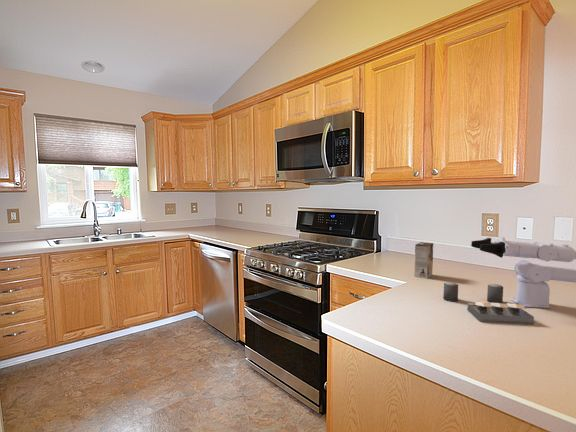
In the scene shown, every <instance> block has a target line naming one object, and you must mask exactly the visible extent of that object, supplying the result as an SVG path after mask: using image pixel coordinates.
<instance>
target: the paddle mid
mask: <svg viewBox="0 0 576 432" xmlns="http://www.w3.org/2000/svg"><path fill="white" fill-rule="evenodd" d="M491 306H496V307H504V308H508V304H507V303H503V302H502V303H491Z"/></svg>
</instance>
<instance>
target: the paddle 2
mask: <svg viewBox="0 0 576 432" xmlns="http://www.w3.org/2000/svg"><path fill="white" fill-rule="evenodd" d="M506 304H508V307H513V308H521V309H525V308H526V307H524V305H522V304H517V303H509V302H507V303H506Z"/></svg>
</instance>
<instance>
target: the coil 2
mask: <svg viewBox="0 0 576 432" xmlns="http://www.w3.org/2000/svg"><path fill="white" fill-rule="evenodd" d="M503 300H504V286H502V285H501V284H496V283H489V284H487V293H486V302H487V303H502V304H503V303H504V302H503Z"/></svg>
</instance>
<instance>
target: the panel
mask: <svg viewBox="0 0 576 432" xmlns="http://www.w3.org/2000/svg"><path fill="white" fill-rule="evenodd" d="M523 309H524V308H513V307H508V308H504V307H496V306H491V307H483V306H479V305H476V303H470V302H468V303H467V309H466V310H467V311H468V313H469V314H471V315H472V317H474V318H475V319H476V320H477V321H478V322H481V323H497V324H498V323H499V324H500V323H501V324H502V323H503V324H519V325H520V324H522V325H534V322H535V317H534V316H533V314H531V313H528V312H527V311H525V310H523Z"/></svg>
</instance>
